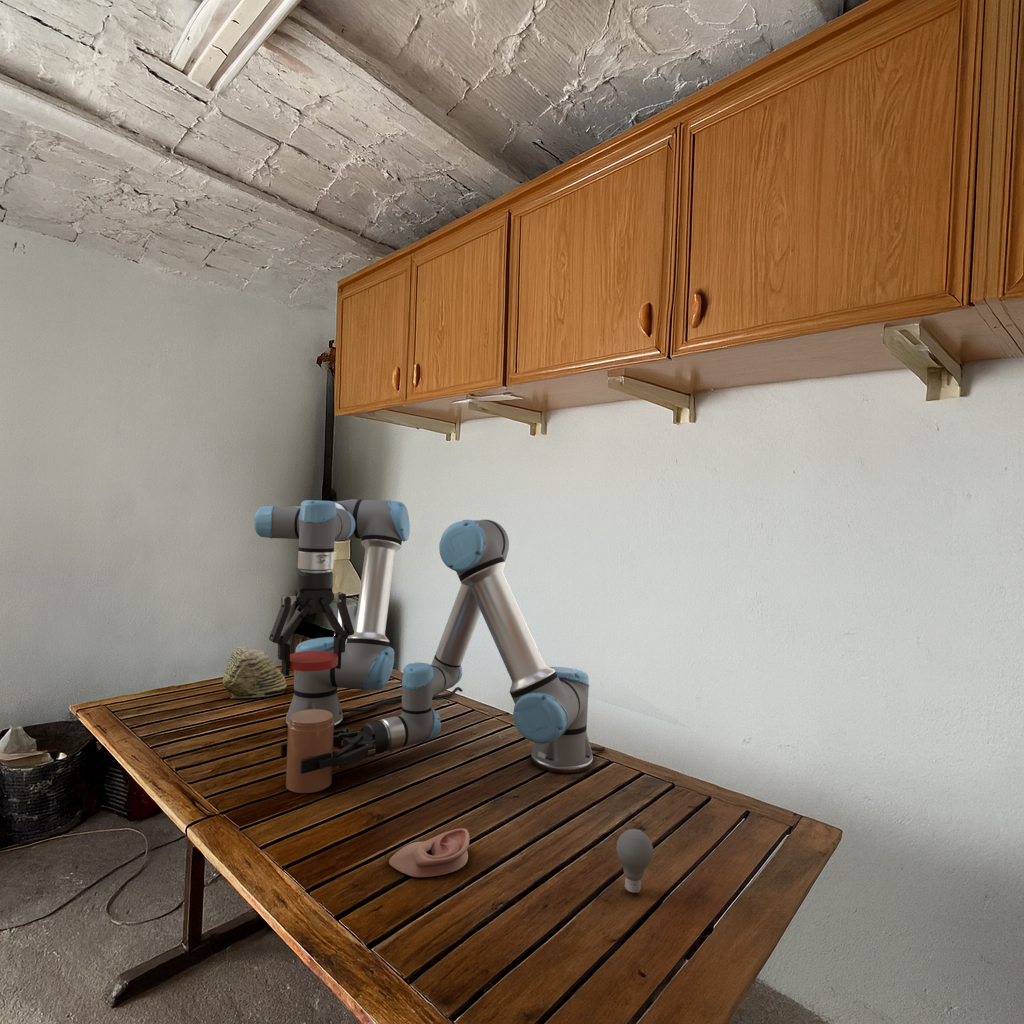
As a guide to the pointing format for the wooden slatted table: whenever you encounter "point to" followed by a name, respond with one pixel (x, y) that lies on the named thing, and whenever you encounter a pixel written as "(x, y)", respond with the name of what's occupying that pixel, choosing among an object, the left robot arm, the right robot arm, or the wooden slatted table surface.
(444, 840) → the anatomical model
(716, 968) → the wooden slatted table surface
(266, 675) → the fossil
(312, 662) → the lid
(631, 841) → the light bulb
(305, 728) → the jar
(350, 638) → the left robot arm
